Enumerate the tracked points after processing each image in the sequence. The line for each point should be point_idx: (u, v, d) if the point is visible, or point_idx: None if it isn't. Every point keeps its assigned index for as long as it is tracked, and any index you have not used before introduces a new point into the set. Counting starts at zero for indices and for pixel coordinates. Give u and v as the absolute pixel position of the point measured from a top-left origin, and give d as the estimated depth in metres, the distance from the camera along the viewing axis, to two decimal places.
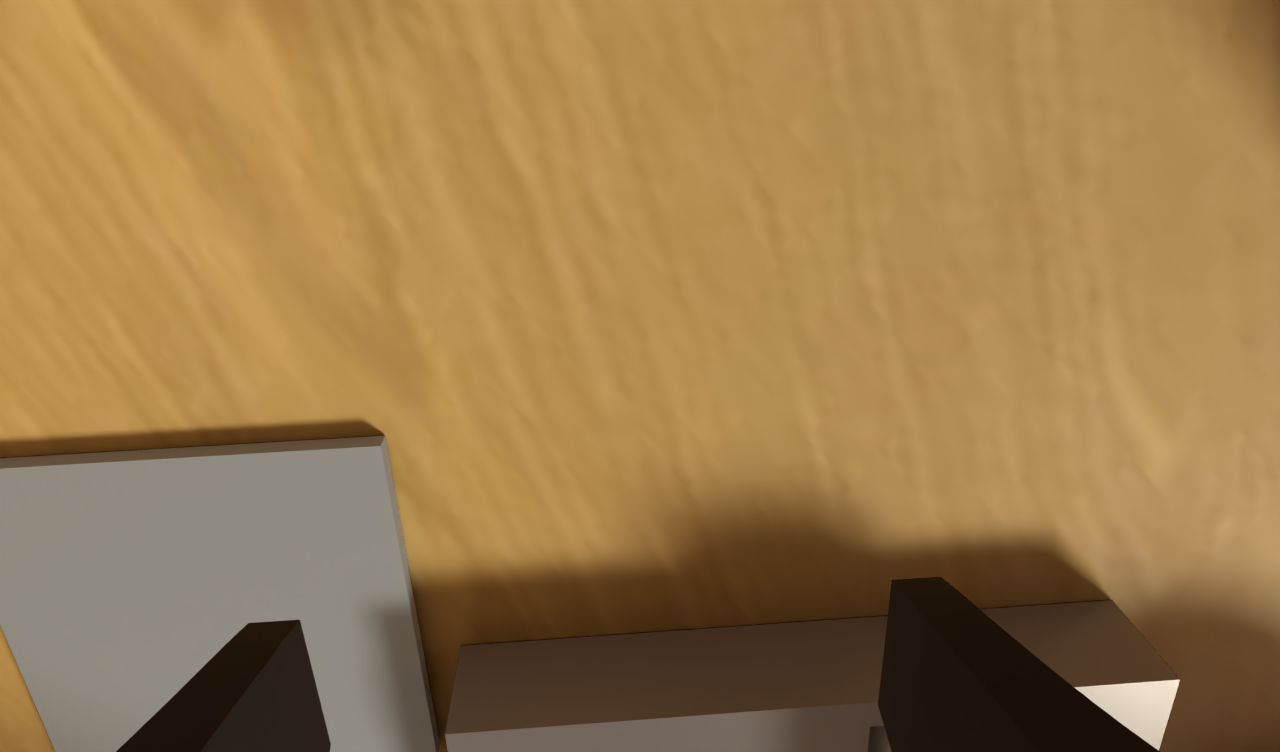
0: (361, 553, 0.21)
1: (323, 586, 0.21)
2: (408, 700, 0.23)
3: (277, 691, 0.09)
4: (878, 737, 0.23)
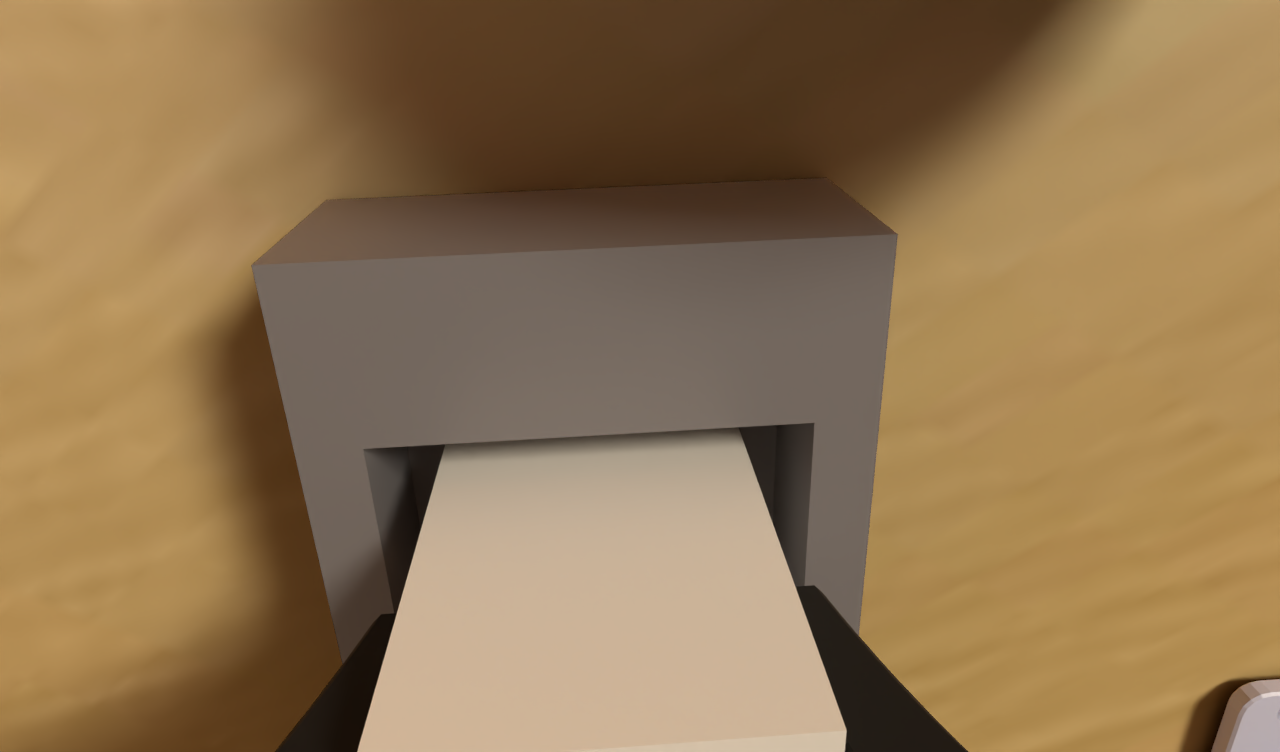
0: None
1: None
2: None
3: None
4: None
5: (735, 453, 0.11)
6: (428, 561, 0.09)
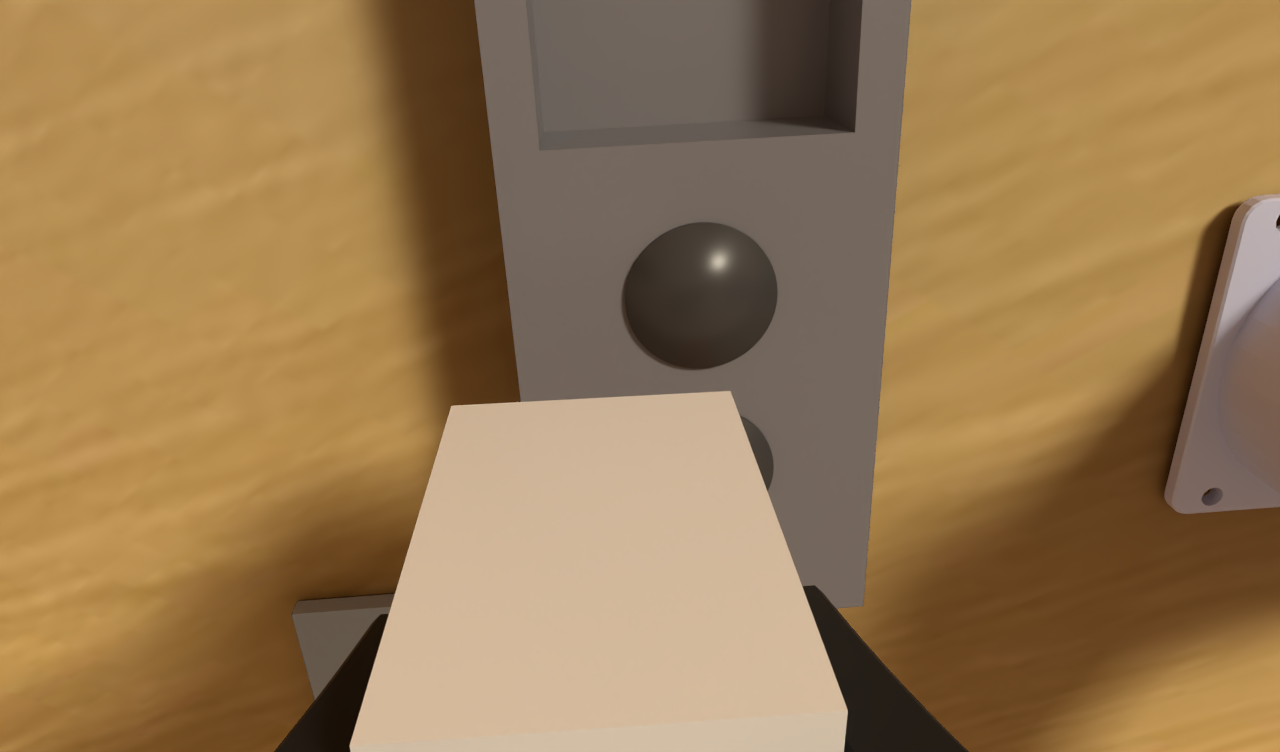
0: None
1: None
2: None
3: None
4: None
5: (736, 439, 0.11)
6: (426, 544, 0.09)
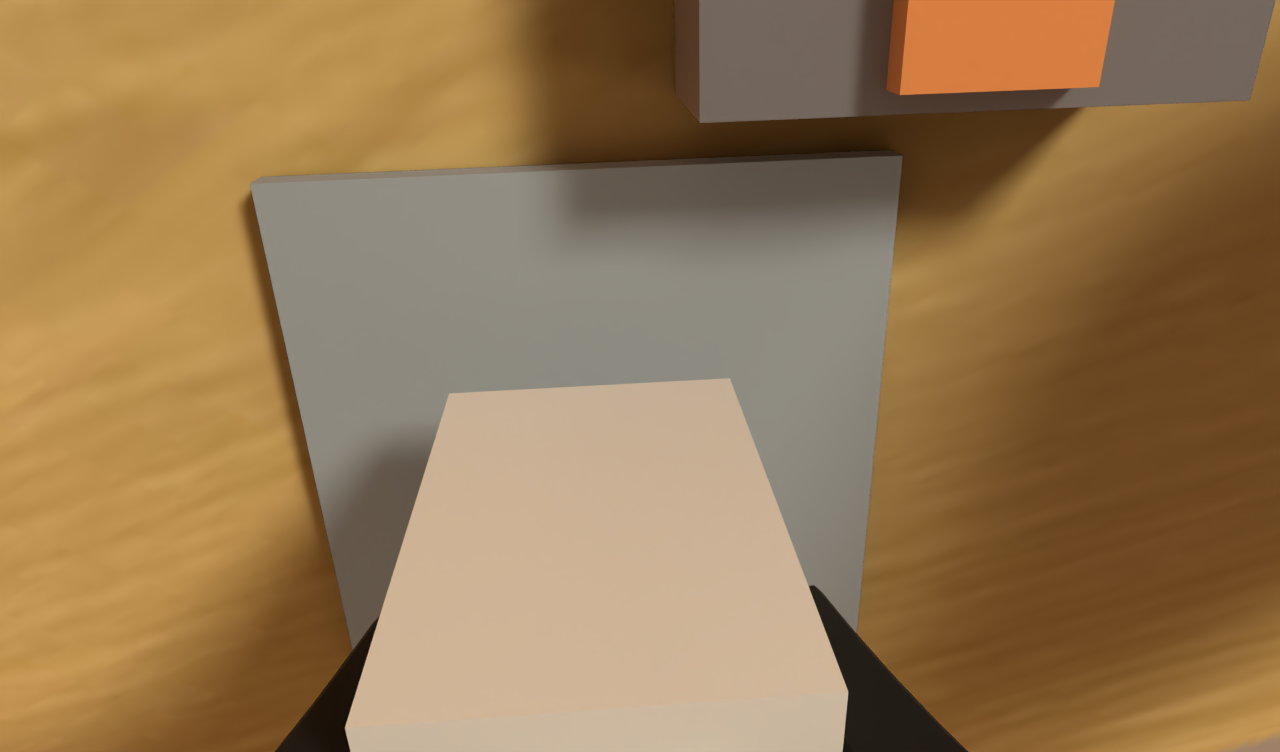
0: (454, 234, 0.14)
1: (519, 297, 0.14)
2: (762, 193, 0.14)
3: None
4: None
5: (735, 425, 0.11)
6: (423, 529, 0.09)
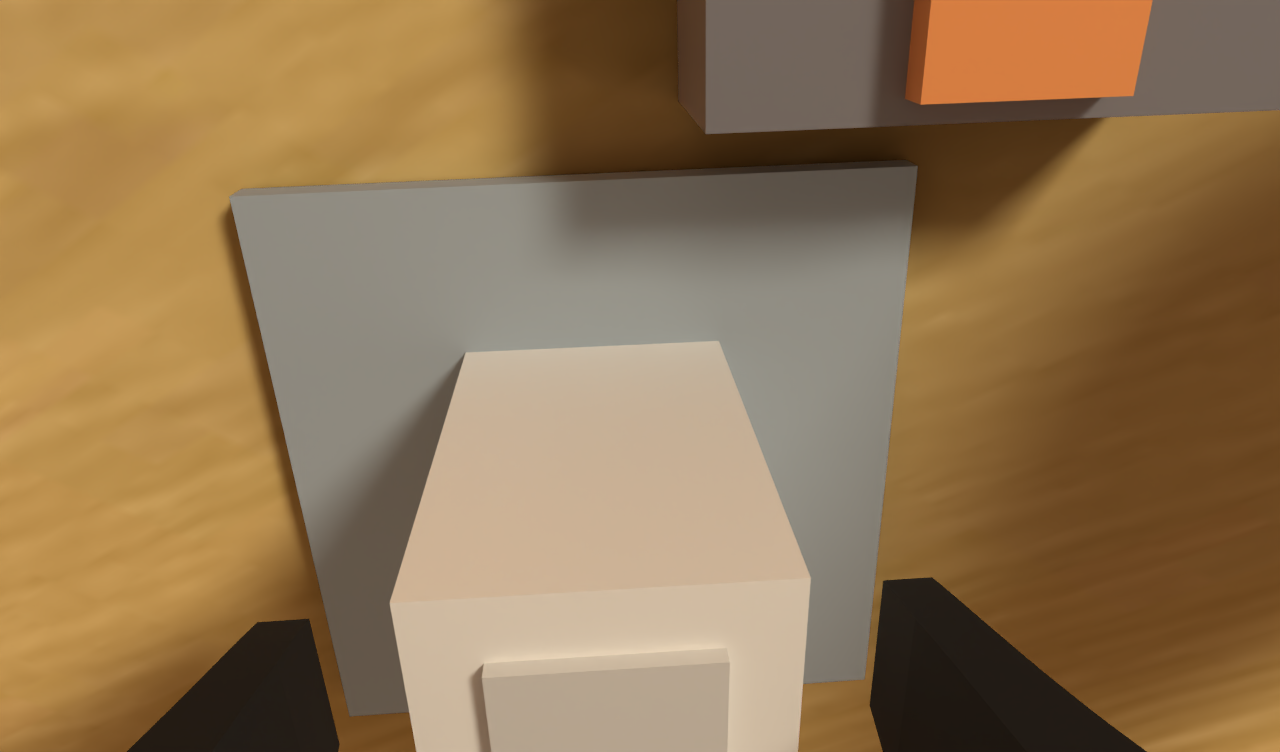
0: (445, 249, 0.13)
1: (514, 315, 0.13)
2: (770, 205, 0.13)
3: (287, 690, 0.09)
4: None
5: (722, 378, 0.12)
6: (448, 458, 0.10)
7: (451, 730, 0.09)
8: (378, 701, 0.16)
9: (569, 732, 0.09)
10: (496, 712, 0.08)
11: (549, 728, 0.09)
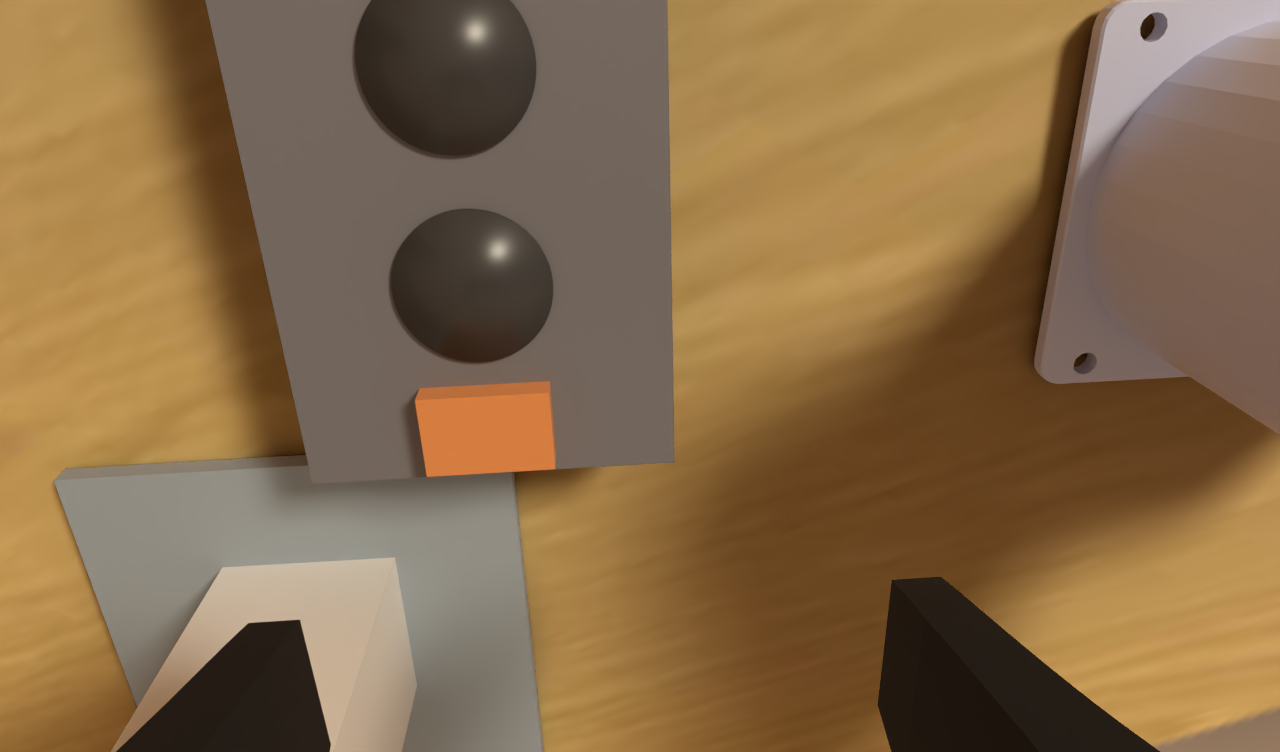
0: (200, 507, 0.19)
1: (252, 544, 0.20)
2: (414, 478, 0.20)
3: (277, 691, 0.09)
4: None
5: (375, 597, 0.19)
6: (168, 670, 0.17)
7: None
8: None
9: None
10: None
11: None
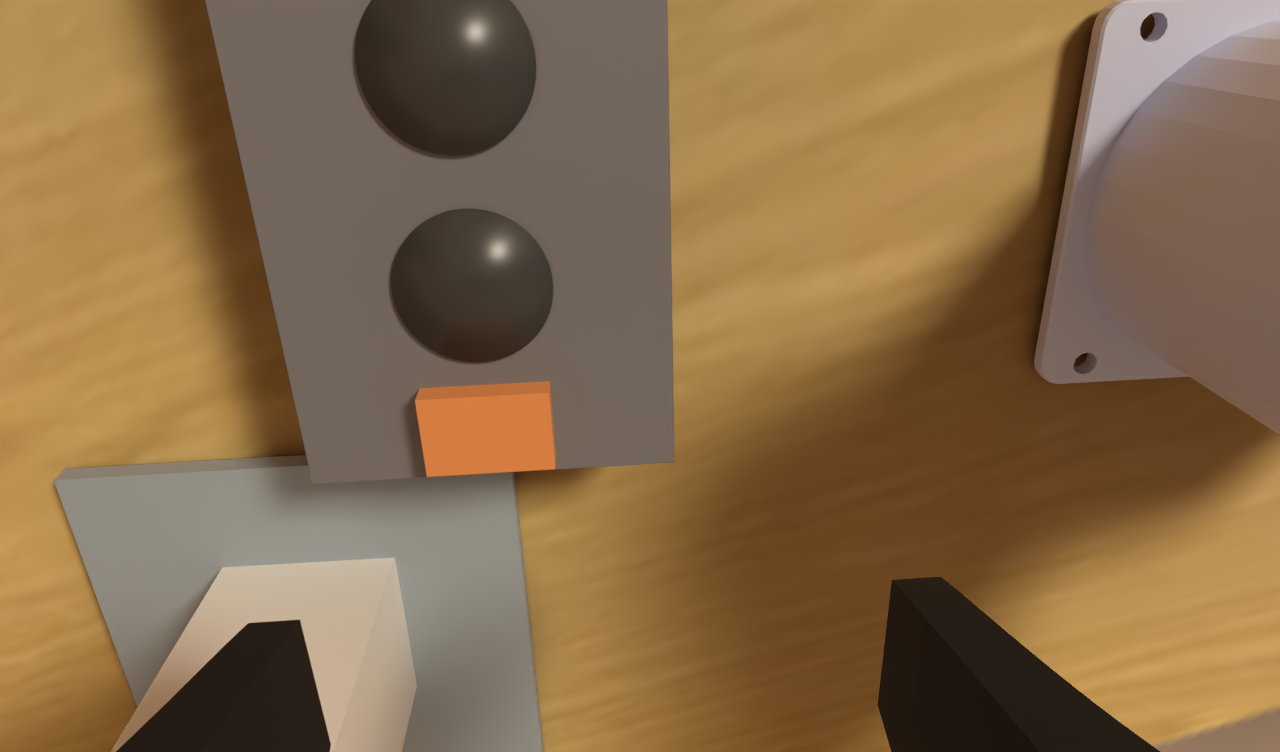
0: (200, 507, 0.19)
1: (252, 544, 0.20)
2: (414, 478, 0.20)
3: (277, 691, 0.09)
4: None
5: (375, 597, 0.19)
6: (168, 670, 0.17)
7: None
8: None
9: None
10: None
11: None
